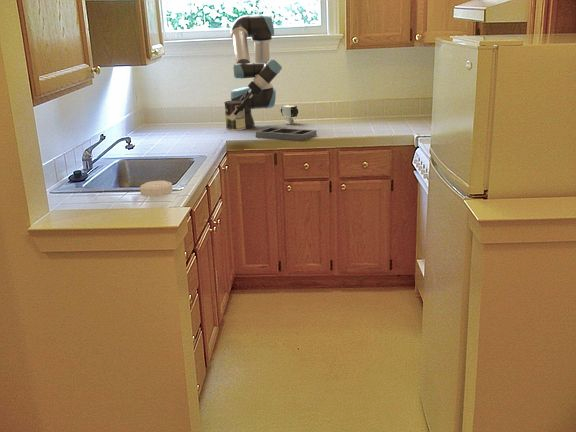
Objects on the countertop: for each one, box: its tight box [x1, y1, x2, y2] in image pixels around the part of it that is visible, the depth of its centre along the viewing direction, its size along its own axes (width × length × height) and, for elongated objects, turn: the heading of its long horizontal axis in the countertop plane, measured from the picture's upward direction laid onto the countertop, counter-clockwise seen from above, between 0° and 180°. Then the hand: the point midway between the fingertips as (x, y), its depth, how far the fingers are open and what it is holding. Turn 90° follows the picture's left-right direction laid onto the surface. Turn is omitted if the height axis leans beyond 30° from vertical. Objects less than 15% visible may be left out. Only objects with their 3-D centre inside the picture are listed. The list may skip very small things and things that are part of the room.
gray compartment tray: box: [255, 126, 318, 141], centre depth 334 cm, size 30×15×3 cm, turn 59°
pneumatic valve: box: [280, 103, 299, 125], centre depth 373 cm, size 6×12×12 cm, turn 41°
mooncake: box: [139, 179, 173, 197], centre depth 232 cm, size 12×12×4 cm
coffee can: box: [224, 100, 246, 131], centre depth 319 cm, size 10×10×14 cm
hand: (229, 117), depth 319 cm, fingers closed on coffee can, 10 cm apart
